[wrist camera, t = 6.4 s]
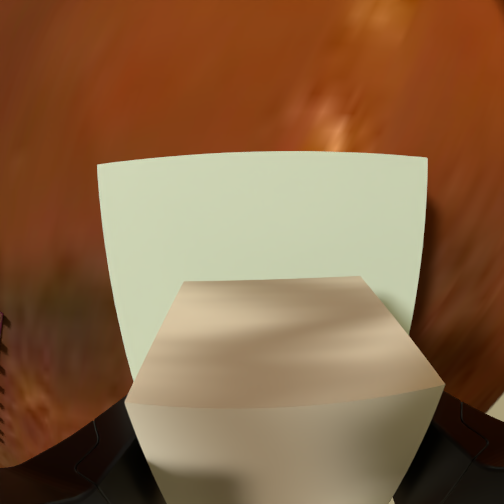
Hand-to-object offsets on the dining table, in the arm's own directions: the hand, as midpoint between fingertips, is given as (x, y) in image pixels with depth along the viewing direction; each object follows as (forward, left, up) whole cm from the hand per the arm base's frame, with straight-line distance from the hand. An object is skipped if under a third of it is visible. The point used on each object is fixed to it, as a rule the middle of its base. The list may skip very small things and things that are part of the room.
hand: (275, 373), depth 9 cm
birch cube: (0, 0, -1) cm, 1 cm away
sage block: (0, 0, -8) cm, 8 cm away
